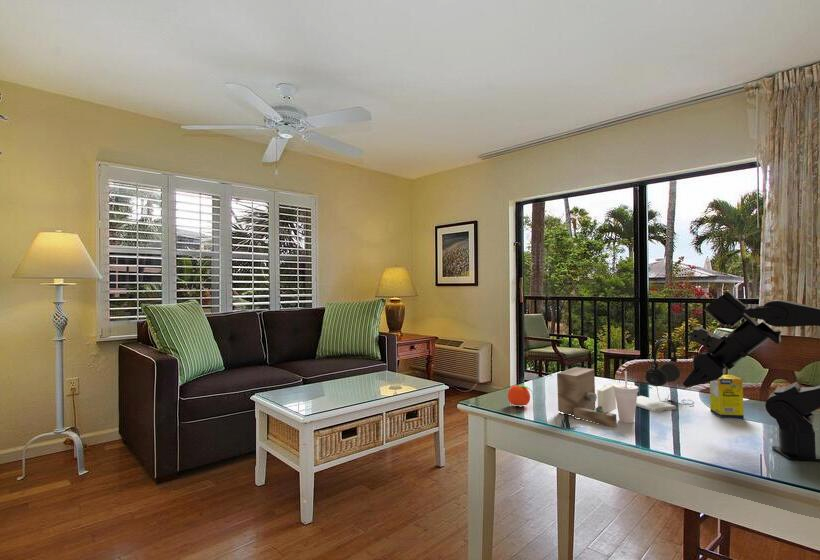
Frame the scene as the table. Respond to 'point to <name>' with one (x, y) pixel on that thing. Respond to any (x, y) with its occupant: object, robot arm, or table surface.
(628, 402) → the smoothie
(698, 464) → the table surface
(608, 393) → the cream flat box
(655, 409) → the external hard drive
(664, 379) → the headphones
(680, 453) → the table surface
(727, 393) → the supplement box
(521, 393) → the clementine
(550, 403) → the table surface
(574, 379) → the brown blocky piece
